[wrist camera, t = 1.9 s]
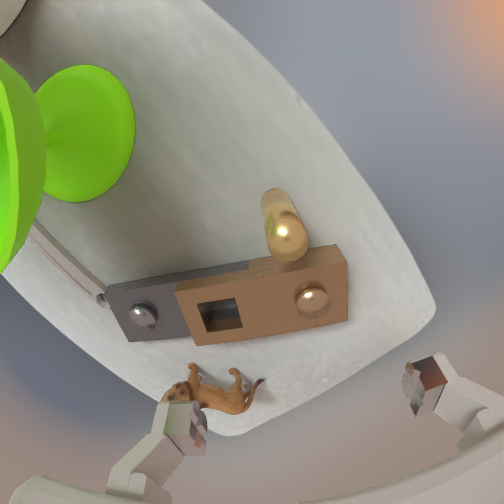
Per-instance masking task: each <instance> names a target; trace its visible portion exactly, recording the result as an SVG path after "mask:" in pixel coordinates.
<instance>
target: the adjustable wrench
mask: <svg viewBox="0 0 504 504" xmlns="http://www.w3.org/2000/svg"><path fill="white" fill-rule="evenodd" d="M27 236H28V237H29V238H30V239H31V240H32V241H33V243H34V244H35V245H36V246H37V247H38V248H39V249H40V250H41V251H42V252H43V253H44V254H45V255H46V256H47V257H48V258H49V259H50V260H51V261H52V262H53V263H54V264H55V265H56V266H57V267H58V268H59V269H60V270H61V271H62V272H63V273H64V274H65V275H66V276H67V277H68V278H69V279H70V280H71V281H72V282H73V283H74V284H76V285H77V286H78V287H79V288H80V289H81V290H82V291H83V292H84V293H85V294H86V295H88V296H89V297H90V298H91V299H92V300H93V301H94V302H96V303H97V304H98V305H99V306H100V307H102V308H106V309H107V308H110V305H109V303H108V302H106V301H104V300H103V299H102V298H101V297H100V294H101V293H102V294H104V293H105V291H106V290H107V287H106V286H105V285H104V284H103V283H102V282H100V281H99V280H98V279H97V278H96V277H95V276H94V275H92V274H91V273H90V272H89V271H88V270H87V269H86V268H85V267H84V266H83V265H81V264H80V263H79V262H78V261H77V260H76V259H75V258H74V257H73V256H72V255H71V254H70V253H69V252H68V251H67V250H66V249H64V248H63V247H62V246H61V245H60V244H59V243H58V242H57V241H56V240H55V239H54V238H53V237H52V236H51V235H50V234H49V233H48V232H47V231H46V230H45V229H44V228H43V226H42V225H41V224H40V223H39V222H38V221H37V220H36V219H34V221H33V224H32V226H31V228H30V231H29V233H28V235H27Z"/></svg>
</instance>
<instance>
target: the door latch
mask: <svg viewBox="0 0 504 504" xmlns="http://www.w3.org/2000/svg"><path fill="white" fill-rule="evenodd" d="M104 295H105V297H106V299H107V301H108V303H109V305H110V307H111V309H112V311H113V313H114V315H115V317H116V319H117V321H118V323H119V325H120V326H121V328H122V330H123V332H124V334H125V335H126V337H127V339H128V341H129V342H138V341H149V340H160V339H169V338H178V337H187V336H192V337H193V339H194V342H195V344H196V346H202V345H210V344H218V343H226V342H233V341H240V340H247V339H253V338H259V337H266V336H272V335H277V334H283V333H289V332H294V331H299V330H305V329H310V328H315V327H320V326H324V325H329V324H334V323H338V322H343V321H347V320H348V291H347V261H346V259H345V258H344V256H343V254H342V253H341V251H340V250H339V248H338V246H337V245H336V244H334V245H329V246H323V247H318V248H313V249H307V251H306V252H305V254H304V255H303V256H302V257H300V258H299V259H297V260H295V261H290V262H285V261H280V260H278V259H276V258H275V257H274V256H270V257H264V258H259V259H253V260H248V261H242V262H237V263H231V264H226V265H220V266H215V267H209V268H204V269H198V270H193V271H187V272H181V273H176V274H170V275H164V276H159V277H153V278H147V279H142V280H136V281H130V282H125V283H119V284H113V285H109V287H108V288H107V290H106V291H105V293H104ZM229 298H235V300H236V303H237V307H236V308H230V309H223V310H217V311H210V309H209V306H208V304H207V302H211V301H217V300H223V299H229Z"/></svg>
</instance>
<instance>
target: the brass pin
mask: <svg viewBox="0 0 504 504" xmlns="http://www.w3.org/2000/svg"><path fill="white" fill-rule="evenodd" d="M261 207H262V213H263V219H264V224H265V230H266V236H267V242H268V248H269V251H270V253H271V254H272V255H273V256H274V257H275V258H276V259H278V260H280V261H285V262H290V261H295V260H297V259H299V258H300V257H302V256H303V255H304V254H305V252H306V251H307V249H308V246H309V237H308V235H307V233H306V230H305V228H304V226H303V224H302V222H301V220H300V218H299V216H298V214H297V212H296V210H295V208H294V206H293V204H292V202H291V200H290V198H289V196H288V195H287V193H286V192H284V191H283V190H281V189H271V190H269V191H267V192H266V193H265V194H264V195H263V197H262V199H261Z"/></svg>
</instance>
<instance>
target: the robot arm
mask: <svg viewBox="0 0 504 504" xmlns="http://www.w3.org/2000/svg"><path fill="white" fill-rule="evenodd" d="M25 2H26V0H0V36H1V35H2V34H3V33H4V32H5V31H6V30H7V29H8V28H9V26H10V25H11V24H12V22H13V21H14V20H15V18H16V17H17V15H18V14H19V12H20V11H21V9H22V7H23V6H24V4H25ZM406 371H407V372H406V373H405V374H404V375H403V380H402V383H403V389H404V392H405V395H406V397H408V398H410V399H412V400H411V403H410V406H411V408H412V410H413V413H414V415H415V417H417V416H420V415H423V414H426V413H428V412H431V411H433V412H435V413H436V414H437V415H439V416H440V417H442V418H443V419H444V420H446V421H447V422H449V423H450V424H451V425H453V426H454V427H456V428H457V429H459V430H460V431H461V432H463V435H462V436H461V437H460V439H459V440H458V442H457V444H456V446H457V448H458V450H459V453H458V454H456V455H454V456H452V457H450V458H447V459H445V460H443V461H441V462H439V463H436V464H434V465H432V466H429V467H427V468H425V469H422V470H420V471H417V472H415V473H412V474H410V475H407V476H404V477H401V478H398V479H395V480H392V481H389V482H386V483H383V484H380V485H377V486H373V487H369V488H366V489H362V490H358V491H355V492H351V493H347V494H342V495H337V496H333V497H328V498H323V499H317V500H311V501H305V502H298V503H291V504H504V397H503V396H500V395H499V394H496V393H494V392H492V391H490V390H488V389H486V388H484V387H482V386H480V385H478V384H476V383H474V382H472V381H470V380H467V379H465V378H463V377H461V378H459V377H458V375H457V373H456V372H455V370H454V369H453V367H452V366H451V365H450V363H449V361H448V360H447V358H446V357H445V355H444V354H443V352H441V351H438V352H436V353H433V354H430V355H426V356H423V357H420V358H418V359H415V360H412V361H409V362H408V363H407V364H406ZM199 408H200V405H199V403H198V402H197V401H160V402H159V404H158V405H157V409H156V413H155V417H154V421H153V426H152V430H151V434H147V435H146V436H145V437H144V438H143V439H142V440H141V441H140V442H139V443H138V444H137V445H136V446H134V448H133V449H131V450H130V451H129V452H128V453H127V454H126V455H125V456H124V457H123V458H122V459H121V460H120V461H119V462H118V463H117V464H116V465H114V466H113V467H112V469H111V473H110V477H109V481H108V485H107V489H106V492H105V494H103V493H99V492H95V491H92V490H88V489H84V488H81V487H77V486H74V485H71V484H67V483H65V482H61V481H59V480H56V479H53V478H50V477H47V476H45V475H36V476H34V477H33V478H31V479H29V480H28V481H26V482H25V483H24V484H22V485H21V486H19V487H18V488H17V489H16V490H15V491H14V493H13V495H12V497H11V499H10V501H9V503H8V504H172V495H171V494H170V493H168V492H167V491H166V490H164V489H163V488H162V486H163V485H164V483H165V482H166V481H167V480H168V478H169V477H170V476H171V475H172V473H173V472H174V471H175V469H176V468H177V467H178V465H179V464H180V463H181V461H182V460H183V459H184V457H185V456H199V455H205V447H206V441H205V439H204V438H203V436H204V435H205V434H206V433H207V419H206V416H205V414H204V412H203V411H201V410H199Z"/></svg>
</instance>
